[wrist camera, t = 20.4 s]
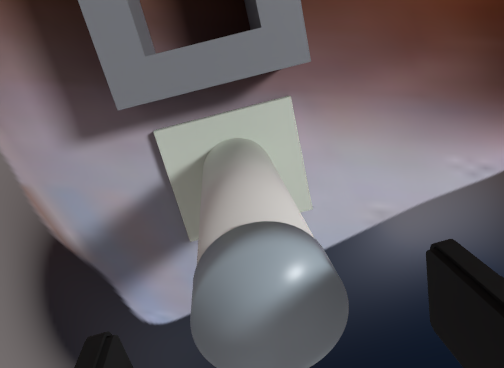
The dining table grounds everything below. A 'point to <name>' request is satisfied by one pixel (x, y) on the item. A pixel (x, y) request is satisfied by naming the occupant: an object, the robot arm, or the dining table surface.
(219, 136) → the mat
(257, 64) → the grey square holder
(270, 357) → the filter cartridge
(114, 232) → the dining table surface
